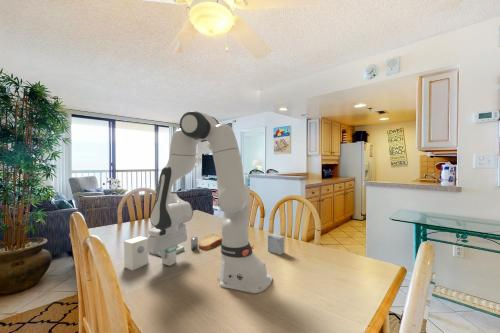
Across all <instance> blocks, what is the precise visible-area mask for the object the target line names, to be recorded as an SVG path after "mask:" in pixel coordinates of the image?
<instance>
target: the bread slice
mask: <svg viewBox="0 0 500 333" xmlns="http://www.w3.org/2000/svg"><path fill="white" fill-rule="evenodd" d="M221 243H222V235H218V234H215V233H213V234H210V235H208V236H207V235H206V236H205V237H204V238H202V239H201V240H200V242H199V243H198V250H199V249H200V250H202V251H209V250H211V249H213V248H215V247H217V246H219V245H221Z"/></svg>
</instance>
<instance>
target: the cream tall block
mask: <svg viewBox="0 0 500 333" xmlns="http://www.w3.org/2000/svg"><path fill="white" fill-rule="evenodd" d="M148 238H149V237H145V236H141V235H139V236H136V237H133V238H130V239H126V240H124V241H123V252H124V253H123V254H124V255H123V256H124V257H123V258H124V261H123V262H124V268H126V269H128V270H131V271H134V270H136V269H139V268H141V267H144V266H145V265H148V264H150V263H149V262H150V261H149V252H148Z"/></svg>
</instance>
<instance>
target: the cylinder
mask: <svg viewBox="0 0 500 333" xmlns="http://www.w3.org/2000/svg"><path fill="white" fill-rule="evenodd" d="M198 242H199V240H198V237H197V236H193V237H191V238H190V250H191V251H197V250H199V243H198Z"/></svg>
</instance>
